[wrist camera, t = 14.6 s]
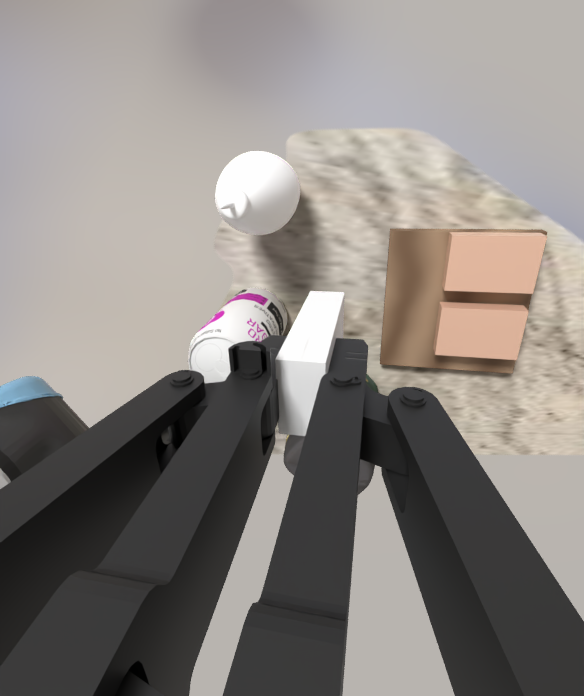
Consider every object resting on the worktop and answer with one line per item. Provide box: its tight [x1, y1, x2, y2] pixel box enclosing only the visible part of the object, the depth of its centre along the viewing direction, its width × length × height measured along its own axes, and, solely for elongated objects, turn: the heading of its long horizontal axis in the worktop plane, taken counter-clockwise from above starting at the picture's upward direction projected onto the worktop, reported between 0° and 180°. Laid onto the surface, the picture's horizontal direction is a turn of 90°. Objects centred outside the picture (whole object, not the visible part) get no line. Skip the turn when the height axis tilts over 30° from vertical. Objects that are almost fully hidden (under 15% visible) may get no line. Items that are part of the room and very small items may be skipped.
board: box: [380, 229, 547, 373], centre depth 48 cm, size 16×17×2 cm
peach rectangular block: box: [433, 302, 529, 360], centre depth 47 cm, size 2×6×9 cm
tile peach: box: [442, 232, 547, 294], centre depth 43 cm, size 2×6×9 cm
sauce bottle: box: [215, 151, 300, 235], centre depth 39 cm, size 8×8×18 cm
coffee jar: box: [284, 374, 378, 494], centre depth 48 cm, size 10×8×19 cm
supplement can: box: [188, 287, 288, 383], centre depth 48 cm, size 8×8×15 cm
